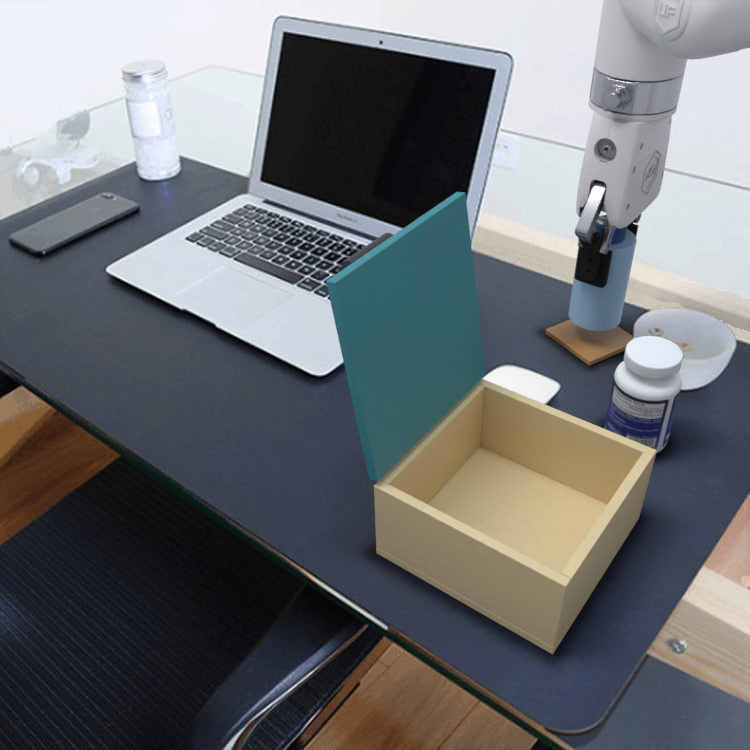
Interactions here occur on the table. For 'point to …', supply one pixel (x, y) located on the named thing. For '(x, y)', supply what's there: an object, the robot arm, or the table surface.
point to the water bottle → (605, 304)
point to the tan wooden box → (513, 509)
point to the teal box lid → (409, 330)
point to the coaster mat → (589, 341)
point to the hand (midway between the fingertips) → (603, 267)
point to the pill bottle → (646, 391)
